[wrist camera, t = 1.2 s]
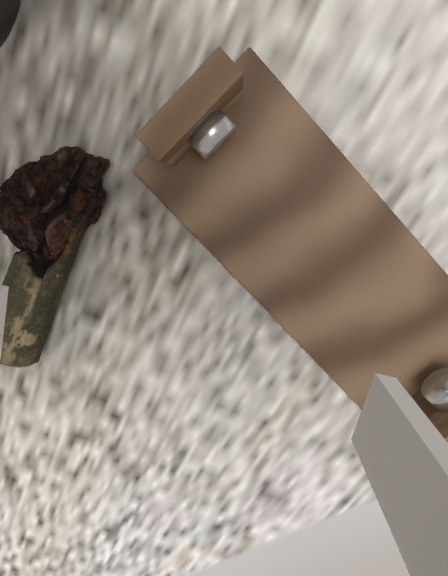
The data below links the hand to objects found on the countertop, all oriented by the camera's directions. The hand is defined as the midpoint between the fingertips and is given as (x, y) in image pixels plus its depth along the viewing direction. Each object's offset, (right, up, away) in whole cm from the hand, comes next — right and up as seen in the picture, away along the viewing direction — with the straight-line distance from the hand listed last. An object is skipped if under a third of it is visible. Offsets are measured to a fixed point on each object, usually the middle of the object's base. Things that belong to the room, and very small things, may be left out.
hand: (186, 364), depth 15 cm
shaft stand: (+9, +5, +19) cm, 22 cm away
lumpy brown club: (-13, +6, +21) cm, 25 cm away
